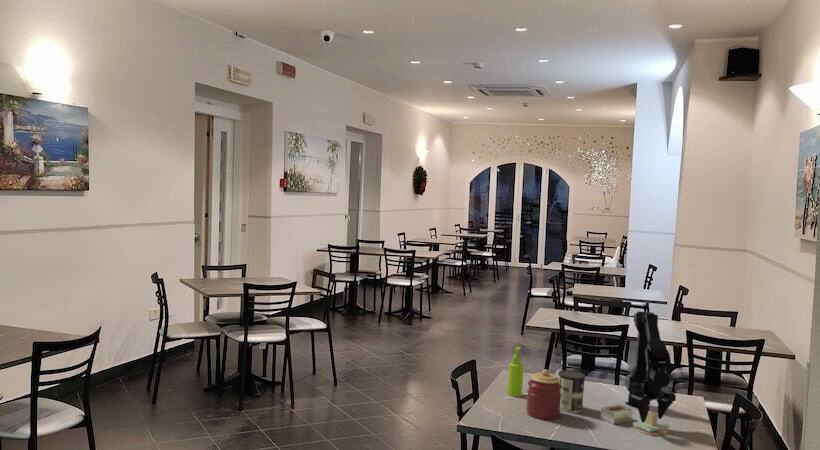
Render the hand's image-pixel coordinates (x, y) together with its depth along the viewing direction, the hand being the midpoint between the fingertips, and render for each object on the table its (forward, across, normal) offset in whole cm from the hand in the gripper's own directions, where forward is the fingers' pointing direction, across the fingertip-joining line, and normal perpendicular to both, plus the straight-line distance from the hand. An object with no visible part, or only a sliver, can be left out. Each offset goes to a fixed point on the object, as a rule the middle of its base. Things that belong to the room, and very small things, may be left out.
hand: (651, 420), depth 238 cm
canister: (+4, +28, -28) cm, 40 cm away
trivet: (+3, 0, 0) cm, 3 cm away
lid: (+2, 0, 0) cm, 2 cm away
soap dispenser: (+4, +23, -51) cm, 56 cm away
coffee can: (+4, +13, -29) cm, 32 cm away
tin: (+3, +5, -12) cm, 13 cm away
